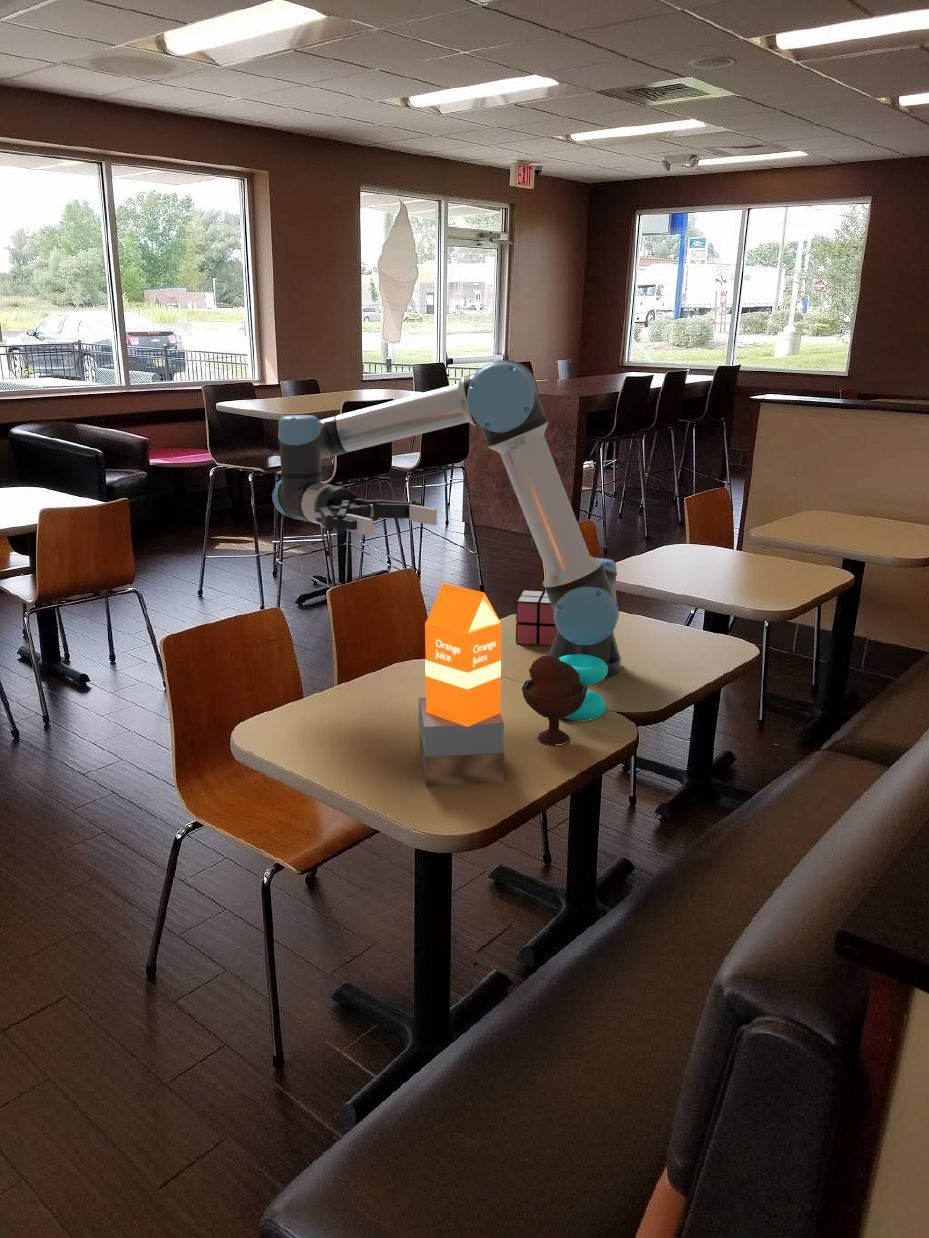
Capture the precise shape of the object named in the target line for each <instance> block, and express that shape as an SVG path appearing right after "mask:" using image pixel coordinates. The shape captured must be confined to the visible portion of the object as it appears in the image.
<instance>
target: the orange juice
mask: <svg viewBox="0 0 929 1238" xmlns="http://www.w3.org/2000/svg"><path fill="white" fill-rule="evenodd" d="M424 631H425V632H424V634H425V635H424V639H425V640H424V643H425V660H424V661H425V662H424V664H425V666H424V667H425V671H424V673H425V674H424V675H425V698H426V712H427V713H430V714H433V715H436V716H439V717H441V718H444V719H447V720H450V721H453V722H455V723H458V724H461V725H464V726H466V727H468V726H471V725H473V724H475V723H478V722H480V721H482V720H485V719H487V718H489V717H492V716H494V715H496V714H499V713H500V714H501V677H502V676H501V675H502V668H501V667H502V660H501V657H502V656H501V655H502V654H501V653H502V652H501V648H502V646H501V643H502V641H501V639H502V632H501V631H502V623H501V621H500V619H499V617H498V615H497V613H496V611H495V610H494V608H493V606H492V604H491V602H490V600H489V599H488V596H487V595H486V593H485V592H483V591H479V590H474V589H471V588H466V587H465V588H464V587H461V586H458V585H457V586H456V585H453V584H448V583H444V582H442V585H441V587H440V588H439V591H438V594H437V597H436V599H435V601H434V603H433V605H432V608H431V610H430V613H429V615H428V617H427V619H426V622H424Z"/></svg>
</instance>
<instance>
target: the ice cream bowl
mask: <svg viewBox="0 0 929 1238" xmlns="http://www.w3.org/2000/svg"><path fill="white" fill-rule="evenodd" d="M529 667H530V668H529V669H528V672H529V678H530V679H528V680H525V682H524V684H523V685H522V687H521V690H522V695H523V698H524V701H525V702H526V704H527V705H528V706H529V707H530V708H531V709H532V710H534V712H536V713H537V714H538V715H539V716H542V717H543V718H547V719H548V729H545V730H543V731H541V732H539V734H538V737H537V739H538V740H539V741H538V740H537V741H538V742H540V741H541V742H542V743H545V744H544V745H546V744H549V745H548V746H550V745H556V744H558V745H559V744H563V743H565V742H567V741H569V742H570V739H569V738H570V735H569V734H568V733H566V731H563V730H561V729H560V720H561V719H564V717H567V716H569V715H571V714H573V713H575V712H576V711H577V710H578V709H579V708H580V707H581V705H582V704H583V702H584V699H585V696H586V692H587V690H588V688H589V685H585V684H584V683H582V682H581V681H580V674H579V673H578V672H577V671H576V670H575V669H574V668H573V667H572V666H571V665H569V664H568V663H566V662H563V661H560V659H559V658H558V657H555V656H549V655H548V654H547V655H542V656H539V657H538V658H537V659H535V660H533V661H532V664H531V666H529ZM541 742H540V743H541ZM542 743H541V744H542ZM559 746H560V745H559Z"/></svg>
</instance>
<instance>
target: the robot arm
mask: <svg viewBox="0 0 929 1238" xmlns="http://www.w3.org/2000/svg"><path fill="white" fill-rule="evenodd" d="M537 383H538V382H537V381H536V378H535V375H534V374H533V372H532V371H531V370H530V369H529V368H528V367H527V366H526V365H524V364H522V363H520V362H518V361H515V360H509V359H507V360H506V359H505V360H496V361H493V362H489V363H487V364H486V365H483V366H482V367H480V368H479V370H478V371H477V372H475V373H473V374H472V373H471V374H468V375H464V376H462V377H461V379H459V382H458V383H455V384H451V385H448V386H444V387H440V388H436V389H431V390H428V391H425V392H421V393H416V394H414V395H413V394H412V395H410V396H409V395H408V396H405V397H402V398H398V399H395V400H394V399H393V400H390V401H386V402H383V403H379V404H375V405H371V406H368V407H363V408H360V409H356V410H352V411H348V412H344V413H340V414H338V415H333V416H329V417H326V418H317V416H315V415H310V414H309V415H308V414H292V415H291V414H289V415H285V416H284V415H283V416H282V417H280V418H279V420H278V433H277V434H278V435H277V437H278V442H279V443H278V444H279V458H280V459H279V460H280V479H279V481H277V483H276V484H275V485H274V488H273V490H272V491H273V492H272V494H271V496H272V498H271V499H272V503H273V505H274V508H275V509H276V510H277V511H278V512H279V513H280V514H282V515H284V516H287V517H289V518H291V519H294V520H301V521H304V522H308V523H314V524H317V525H320V527H321V528H323V529H325V531H327V532H332V531H334V529H336V530H337V535H345V534H346V532H345V531H347V532H351V533H355V534H360V535H362V536H368V537H372V536H374V526H373V524H374V523H373V522H374V521H378V520H379V519H407V520H408V519H409V521H411V522H416V523H420V524H426V525H430V526H437V525H438V523H437V522H438V521H437V520H438V519H437V518H438V516H437V515H438V513H437V510H438V509H436V508H431V507H426V506H423V505H422V504H423V502H420V501H417V500H416V499H413V500H412V501H399V500H387V499H386V500H384V499H379V498H374V499H371V500H369V499H364V498H358V496H357V495H356V493H355V492H354V491H353V490H352V489H350V488H347V487H343V486H337V485H333V484H328V483H327V484H326V483H322V460H324V459H327V458H333V457H334V456H339V455H344V454H346V453H349V452H353V451H358V450H362V449H366V448H371V447H376V446H378V445H382V444H386V443H390V442H394V441H397V440H401V439H406V438H409V437H415V436H417V435H422V434H427V433H431V432H434V431H438V430H442V429H446V428H450V427H455V426H458V425H462V424H467V423H469V424H470V425H472V426H474V427H476V426H479V428H480V430H481V432H482V435H483V437H484V440H485V442H486V443H485V444H486V445H487V447H488V449H489V450H492V451H494V452H497V453H498V454H499V455H500V458H501V460H502V463H503V465H504V467H505V470H506V472H507V475H508V478H509V480H510V483H511V485H512V488H513V490H514V492H515V493H514V494H515V496H516V498H517V500H518V503H519V505H520V508H521V510H522V513H523V516H524V518H525V520H526V523H527V526H528V528H529V531H530V534H531V536H532V537H533V540H534V542H535V546H536V548H537V551H538V553H539V556H540V559H541V561H542V562H543V563H542V564H543V566H544V568H545V571H546V575H545V577H544V580H543V582H542V584H543V588H544V590H545V592H546V593H547V596H548V598H549V601H550V603H551V606H552V608H553V611H554V615H553V617H554V623H555V625H556V627H557V630H556V633H555V636H554V639H553V641H552V644H551V646H549V647H550V648H549V650H548V653H547V655H549V656H555V657H558V658H560V657H562V656H566V655H573V654H583V655H590V656H594V657H597V658H600V659H601V660H603V661H604V662H605V663H606V665H607V667H608V673H607V675H606V677H605V678H607V677H611V676H614V675H616V674H618V673H619V672H620V671H621V664H622V661H621V660H622V658H621V654H620V652H619V651H620V650H619V647H618V645H617V641H616V637H615V633H614V631H615V628H616V626H617V624H618V620H619V616H620V615H619V614H620V609H619V606H618V600H617V591H616V588H617V587H616V586H617V584H616V583H617V576H618V572H617V564H616V561H614V560H613V559H609V558H603V557H602V558H601V557H593V556H592V555H591V554H590V552H589V549H588V547H587V545H586V541H585V539H584V537H583V534H582V531H581V529H580V525H579V524H578V520H577V518H576V515H575V513H574V510H573V508H572V505H571V503H570V499H569V497H568V495H567V492H566V489H565V487H564V483H563V481H562V480H561V476H560V473H559V471H558V468H557V465H556V463H555V461H554V458H553V456H552V453H551V450H550V447H549V445H548V443H547V440H546V438H545V432H546V429H547V427H548V425H549V422H548V419H547V416H546V413H545V411H544V408H543V406H542V402H541V400H540V398H539V394H538V391H539V389H538V384H537ZM371 511H373V516H371V515H372V513H371Z"/></svg>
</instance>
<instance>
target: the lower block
mask: <svg viewBox="0 0 929 1238" xmlns="http://www.w3.org/2000/svg"><path fill="white" fill-rule="evenodd" d="M419 756H420V763H421V766H422V771H423V777H424V783H425V787H438V786H440V787H441V786H456V785H458V786H459V785H474V784H489V783H504V781H505V780H504V779H505V778H504V777H505V776H504V774H505V753H497V754H479V755H462V756H444V757H426V758H425V754H424V749H423V744H422V739H421V734H420V733H419Z"/></svg>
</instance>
